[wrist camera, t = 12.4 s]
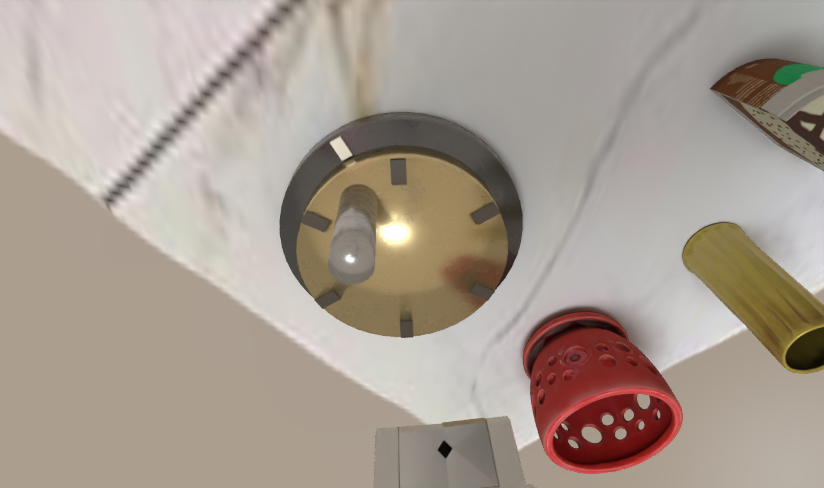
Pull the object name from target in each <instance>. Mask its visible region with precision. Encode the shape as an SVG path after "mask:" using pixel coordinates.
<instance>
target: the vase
mask: <svg viewBox="0 0 824 488" xmlns="http://www.w3.org/2000/svg"><path fill="white" fill-rule="evenodd" d="M683 262H684V264H685V267H686V268H687V269H688V270H689V271H691V272H692V273H694V274H695V275H696V276H697V277H698V278H699V279H700V280H701V281H702V282H703V283H704V284H705V285H706V286H707V287H708V288H709V289H710V290H711V291H712V292H713V293H714V294H715V295H716V296H717V297H718V298H719V299H720V300H721V301H722V302H723V303H724V304H725V306H726V307H727V308H728V309H729V310H730V311H731V312H732V313H733V314H734V315H735V316H736V317H737V318H738V319H739V320H740V321H741V322H743V323H744V324H745V325H746V326H747V328H748V329H749V330H750V331H751V332H752V333H753V334H754V336H755V337H756V338H757V339H758V340H759V341H760V342H761V343H762V344H763V345H764V346H765V347H766V348H767V349H768V350H769V351H770V353H772V355H773V356H774V357H775V358H776V359H777V360H778V361H779V362H780V363H781V364H782V365H783V366H784V367H785V368H786V369H787V370H788V371H790V372H793V373H799V374H807V373H813V372H817V371H820V370H823V369H824V305H823V304H822V303H821V302H819V301H818V300H817V299H816V298H815V297H814V296H813V295H812V294H811V293H810V292H809V291H808V290H807V289H805V288H804V287H803V286H802V285H801V284H800V283H798V282H797V281H796V280H795V279H794V278H793V277H792V276H791V275H789V274H788V273H787V272H786V271H785V270H784V269H782V268H781V267H780V266H779V265H778V264H777V263H776V262H774V261H773V260H772V259H771V258H770V257H769V256H767V255H766V254H765V253H764V252H763V251H762V250H761V249H760V248H759V247H758V246H757V245H756V244H755V243H754V242H752V241H751V240H750V239H749V238H748V237H747V236H746V235H745V233H744V231H743V230H742V229H741V228H740V227H739V226H737V225H735V224H731V223H718V224H714V225H710V226H708V227H706V228H704V229H702V230H700V231H699V232H697V233H696V234H695V235H694V236H693V237H692V238H691V239H690V240H689V241H688V243H687V244H686V246H685V249H684V252H683Z"/></svg>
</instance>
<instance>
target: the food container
mask: <svg viewBox="0 0 824 488" xmlns="http://www.w3.org/2000/svg"><path fill="white" fill-rule="evenodd" d="M710 89H711V90H712V91H714V92H715V93H716V94H717V95H718V96H720V97H721V98H722V99H723V100H724V101H725V102H727V103H728V104H729V105H730V106H731V107H733V108H734V109H735V110H736V111H737V112H739V113H740V114H741V115H742V116H743V117H745V118H746V119H747V120H748V121H749V122H751V123H752V124H753V125H754V126H755V127H757V128H758V129H759V130H760V131H761V132H763V133H764V134H765V135H766V136H767V137H768V138H770V139H771V140H772V141H773V142H774V143H776V144H777V145H778V146H780V147H781V148H783V149H785V150H787V151H789V152H790V153H792V154H794V155H796V156H797V157H799V158H801V159H803V160H805V161H806V162H808V163H810V164H812V165H813V166H815V167H817V168H819V169H821V170H822V171H824V68H822V67H817V66H811V65H806V64H801V63H795V62H790V61H785V60H779V59H761V60H756V61H753V62H749V63H746V64H744V65H742V66H740V67H738V68H736V69H734V70H733V71H731V72H729V73H728V74H726V75H725V76H724V77H723V78H721V79H720V80H719V81H718V82H717V83H716V84H715V85H714V86H713V87H711V88H710Z"/></svg>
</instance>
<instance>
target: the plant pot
mask: <svg viewBox="0 0 824 488" xmlns="http://www.w3.org/2000/svg"><path fill="white" fill-rule="evenodd" d="M523 365H524V369H525V372H526V374H527V376H528V377H529V378H530V379H531V383H530V395H531V404H532V409H533V415H534V419H535V423H536V427H537V430H538V433H539V437H540V440H541V442H542V445H543V448H544V450H545V452H546V454H547V456H548V457H549V458H550V459H551V460H552V461H553V462H554V463H555V464H557V465H558V466H560V467H562V468H564V469H567V470H570V471H574V472H578V473H586V474H598V473H608V472H614V471H618V470H622V469H626V468H629V467H632V466H635V465H637V464H639V463H642V462H643V461H645V460H647V459H649V458H651V457H652V456H654V455H656V454H657V453H659V452H660V451H662V450H663V449H664V448H665V447H666V446H667V445H668V444H669V443H670V442H671V441H672V440H673V439H674V438H675V436H676V435H677V433H678V431H679V430H680V428H681V424H682V420H683V414H682V409H681V406H680V404H679V402H678V400H677V399H676V397H675V395H674V394H673V392H672V390H671V389H670V387H669V386H668V384H667V383H666V381H665V380H664V378H663V377H662V375H661V374H660V372H659V371H658V370H657V369H656V367H655V366H654V365H653V364H652V363H651V362H650V360H649V359H648V358H647V357H646V356H645V355H644V354H643V353H642V352H641V351H640V350H639V349H638V348H637V347H636V346H634V345H633V344H632V343H630V342H629V339H628V336H627V334H626V332H625V330H624V329H623V327H622V326H621V325H620V324H619V323H618V322H617V321H615V320H614V319H612V318H610V317H608V316H605V315H602V314H598V313H592V312H578V313H571V314H566V315H563V316H560V317H557V318H555V319H553V320H551V321H549V322H548V323H546V324H545V325H543V326H542V327H541V328H540V329H539V330H537V331H536V332H535V334H534V335H533V336H532V337H531V339H530V340H529V342H528V343H527V345H526V348H525V350H524V355H523ZM637 394H646V395H649V397H650V405H649V407H648V408H647V409H642V408H641V407H640V406H639V404H638V402H637ZM628 409H631V410H632V411H633V412H634V417H633V419H632V420H630V421H626V420H625V418H624V413H625V411H626V410H628ZM658 410H659V411H660V419H659V418H658V416H657V411H658ZM606 414H609V415H612V416H613V418H614V422H613V423H612V424H611V425H608V426H607V425H604V424H603V423H602V417H603V416H604V415H606ZM641 421H643V422H644V424H645V426H644V428H643V429H642V430H639V427H638V426H639V423H640V422H641ZM562 423H563V424H565V425H566V426H567V428H568V431H567V430H565V429H563V427H562V425H561V424H562ZM587 426H588V427H594V428H596V429H597V430H599V432H600V433H601V435H602V440H601V441H600V442H599V443H591V442H589V441H587V440H586V439H584V438H583V436H582V432H581V431H582V429H583V428H584V427H587ZM619 428H623V429H625V430H626V431H627V435H626V437H625V438H624V439H622V440H619V439H617V438H616V437H615V432H616V430H617V429H619ZM555 432H556V434H557V436H558V439H557V438H555V436H554V434H555ZM568 439H571V440H573V441H575V442H576V443H577V444H578V447H579V448H573V447H571V446H570V444H569V443H568Z"/></svg>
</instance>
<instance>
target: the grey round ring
mask: <svg viewBox="0 0 824 488" xmlns="http://www.w3.org/2000/svg"><path fill="white" fill-rule="evenodd" d="M396 145H407V146H418V147H425V148H429V149H433V150H437V151H440V152H442V153H445V154H447V155H450V156H452V157H454V158H456V159H457V160H459V161H461V162H462V163H464V164H465V165H467V166H468V167H469V168H470V169H472V170H473V171H474V172H475V173H476V174H477V175H478V176H479V177H480V178H481V179H482V180H483V181H484V183H485V184H486V185H487V187H488V188H489V190H490V191H491V193H492V195H493V197H494V199H495V201H496V204H497V206H498V209H499V211H500V214H501V216H502V219H503V222H504V225H505V228H506V233H507V239H508V255H507V261H506V266H505V269H504V272H503V275H502V277H501V280H500V282H499V284H498V286H499V285H500V284H501V282H502V281H503V280H504V279H505V277H506V276H507V274H508V272H509V271H510V269H511V267H512V265H513V263H514V261H515V259H516V256H517V254H518V250H519V247H520V243H521V237H522V229H523V225H522V210H521V205H520V200H519V197H518V194H517V191H516V188H515V186H514V184H513V182H512V180H511V178H510V176H509V174H508V172H507V170H506V168H505V166H504V165H503V163H502V162H501V161H500V159H499V158H498V156H497V155H496V154H495V153H494V151H493V150H492V149H491V148H490V147H489V146H488V145H487V144H486V143H485V142H483V141H482V140H481V139H480V138H478V137H477V136H476V135H474V134H473V133H472V132H470V131H468V130H466V129H465V128H463V127H461V126H459V125H457V124H455V123H452V122H450V121H447V120H445V119H442V118H438V117H434V116H430V115H426V114H418V113H410V112H399V113H385V114H378V115H373V116H369V117H366V118H362V119H359V120H356V121H353V122H351V123H349V124H347V125H344V126H342V127H340V128H339V129H337V130H335V131H334V132H332V133H330V134H329V135H327V136H326V137H325V138H324V139H322V140H321V141H320V142H319V143H317V144H316V145H315V146H314V147H313V148H312V149H311V150H310V152H309V153H308V154H307V155H306V156H305V157H304V159H303V160H302V161H301V163H300V164H299V166H298V167H297V169H296V171H295V173H294V175H293V177H292V179H291V181H290V183H289V186H288V188H287V191H286V193H285V197H284V200H283V203H282V207H281V214H280V238H281V243H282V249H283V252H284V255H285V258H286V261H287V263H288V265H289V267H290V269H291V271H292V273H293V274H294V276H295V277H296V279H297V280H298V281H299V283H300V284H301V285H302V287H303V288H304V289H305V290H306V291H307V292H308V293H309V294H310V292H309V290H308V289H307V287H306V285H305V283H304V281H303V279H302V277H301V274H300V270H299V267H298V262H297V253H296V248H297V237H298V232H299V228H300V225H301V221H302V218H303V215H304V212H305V209H306V206H307V204H308V201H309V199H310V197H311V195H312V194H313V192H314V190H315V188H316V187H317V186H318V185H319V183H320V182H321V181H322V179H323V178H324V177H325V176H326V175H327V174H329V173H330V172H331V171H332V170H333V169H334V168H336V167H337V166H338V165H340V164H341V163H342V162H344V161H346V160H348V159H350V158H351V157H353V156H355V155H358V154H360V153H363V152H366V151H368V150H372V149H376V148H380V147H387V146H396ZM498 286H497V287H498ZM497 287H496V289H497ZM496 289H495V290H496ZM310 295H311V294H310ZM311 296H312V295H311ZM312 297H313V296H312ZM313 298H314V297H313Z"/></svg>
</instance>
